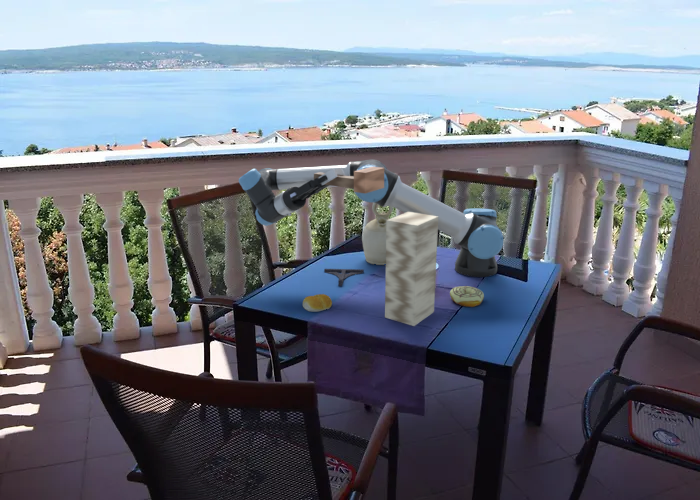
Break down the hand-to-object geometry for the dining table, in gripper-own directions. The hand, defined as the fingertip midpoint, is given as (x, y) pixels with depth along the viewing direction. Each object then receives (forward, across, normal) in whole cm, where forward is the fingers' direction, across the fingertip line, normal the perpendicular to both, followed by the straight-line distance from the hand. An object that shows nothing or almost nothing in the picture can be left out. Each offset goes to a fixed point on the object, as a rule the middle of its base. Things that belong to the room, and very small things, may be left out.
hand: (338, 171), depth 168 cm
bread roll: (-21, +12, -36) cm, 43 cm away
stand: (+2, 0, -48) cm, 48 cm away
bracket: (-28, -13, -32) cm, 44 cm away
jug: (-27, -37, -32) cm, 56 cm away
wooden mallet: (0, 0, -5) cm, 5 cm away
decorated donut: (+10, -20, -53) cm, 58 cm away
